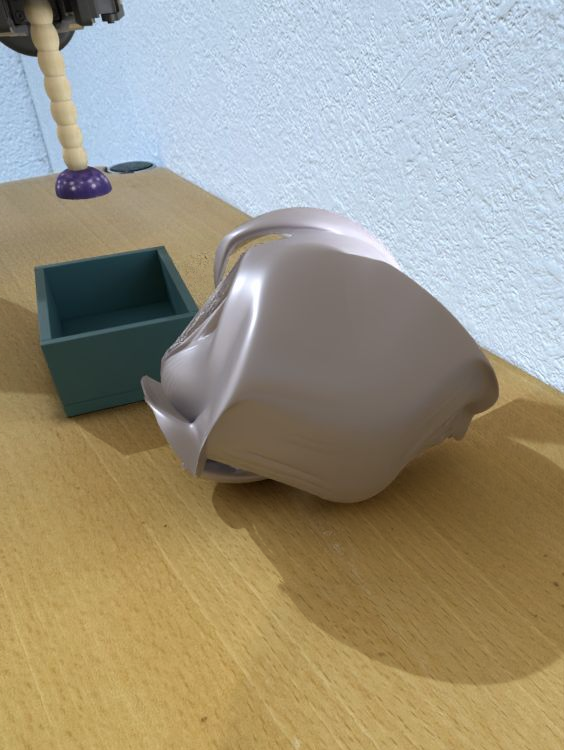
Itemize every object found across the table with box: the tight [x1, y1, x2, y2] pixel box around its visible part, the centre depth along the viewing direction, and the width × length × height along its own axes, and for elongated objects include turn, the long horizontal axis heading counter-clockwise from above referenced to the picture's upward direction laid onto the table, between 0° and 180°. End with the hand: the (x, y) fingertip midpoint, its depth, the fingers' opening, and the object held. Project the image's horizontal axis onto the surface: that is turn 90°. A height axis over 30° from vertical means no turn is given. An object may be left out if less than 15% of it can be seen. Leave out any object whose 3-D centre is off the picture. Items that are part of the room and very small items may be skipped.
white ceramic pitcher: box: [141, 206, 500, 504], centre depth 43 cm, size 20×18×15 cm
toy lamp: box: [23, 0, 113, 201], centre depth 50 cm, size 5×5×17 cm
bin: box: [33, 245, 200, 418], centre depth 59 cm, size 18×12×6 cm, turn 23°
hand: (42, 9), depth 45 cm, fingers closed on toy lamp, 4 cm apart
